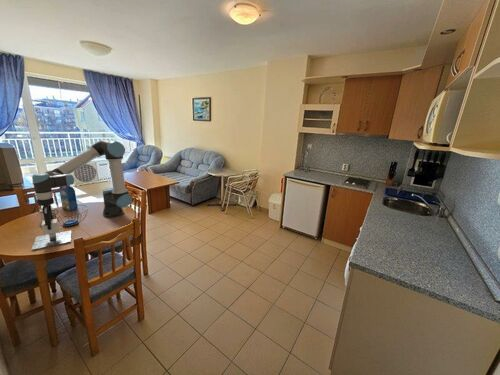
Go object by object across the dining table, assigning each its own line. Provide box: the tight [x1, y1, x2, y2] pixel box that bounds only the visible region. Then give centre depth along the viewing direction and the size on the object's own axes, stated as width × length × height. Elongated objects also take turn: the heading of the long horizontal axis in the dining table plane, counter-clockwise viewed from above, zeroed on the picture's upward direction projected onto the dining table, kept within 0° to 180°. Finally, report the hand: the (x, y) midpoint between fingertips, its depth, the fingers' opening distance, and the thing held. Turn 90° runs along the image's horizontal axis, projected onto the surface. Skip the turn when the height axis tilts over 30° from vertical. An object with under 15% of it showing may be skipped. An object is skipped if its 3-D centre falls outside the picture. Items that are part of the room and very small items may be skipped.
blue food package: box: [58, 185, 79, 212], centre depth 185 cm, size 6×12×25 cm, turn 65°
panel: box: [31, 230, 72, 251], centre depth 137 cm, size 18×18×6 cm
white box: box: [40, 218, 60, 236], centre depth 135 cm, size 7×7×8 cm
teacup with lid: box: [38, 207, 59, 223], centre depth 164 cm, size 12×9×12 cm
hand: (51, 231), depth 136 cm, fingers closed on white box, 7 cm apart
